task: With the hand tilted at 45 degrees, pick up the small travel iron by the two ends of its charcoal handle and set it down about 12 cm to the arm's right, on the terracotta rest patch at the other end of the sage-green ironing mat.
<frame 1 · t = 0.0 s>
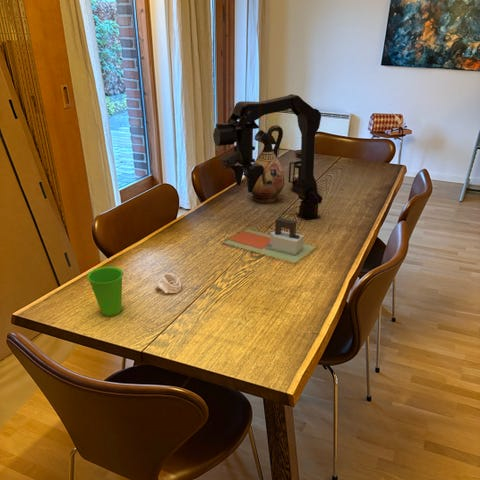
hand: (244, 188, 168), 15 cm above the table, tool pointing down, fingers open, 9 cm apart
cup: (111, 311, 126), on the table
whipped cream: (170, 289, 136), on the table
french press: (300, 190, 214), on the table
iron: (284, 249, 158), resting on ironing mat
ceramic jug: (267, 199, 203), on the table
ironing mat: (269, 245, 162), on the table
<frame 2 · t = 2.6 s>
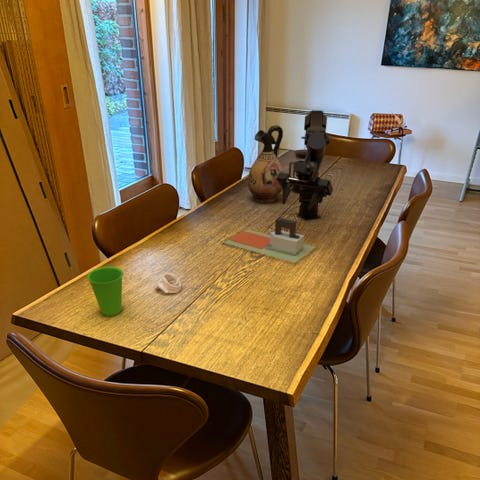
hand: (295, 206, 157), 13 cm above the table, tool tilted 45°, fingers open, 9 cm apart
nothing on the table moved.
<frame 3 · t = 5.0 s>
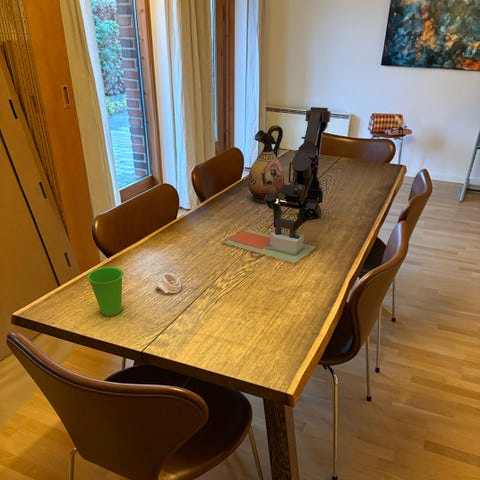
hand: (283, 229, 153), 8 cm above the table, tool tilted 45°, fingers closed on iron, 7 cm apart
iron: (284, 249, 158), point 1 cm above the table, touching gripper, ironing mat
everything else where it was.
when the fingers open (8 cm above the table, at t = 10.7 s): iron stays where it is, resting on ironing mat.
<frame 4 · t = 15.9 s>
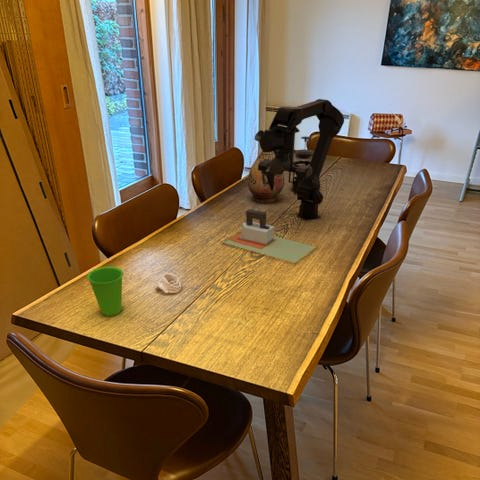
hand: (283, 192, 170), 13 cm above the table, tool pointing down, fingers open, 9 cm apart
iron: (255, 239, 165), point 1 cm above the table, touching ironing mat
everything else where it was.
at the end: iron 0.1 cm from the target spot, point 0.7 cm above the table; iron tilted 0°; the gripper is holding nothing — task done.
